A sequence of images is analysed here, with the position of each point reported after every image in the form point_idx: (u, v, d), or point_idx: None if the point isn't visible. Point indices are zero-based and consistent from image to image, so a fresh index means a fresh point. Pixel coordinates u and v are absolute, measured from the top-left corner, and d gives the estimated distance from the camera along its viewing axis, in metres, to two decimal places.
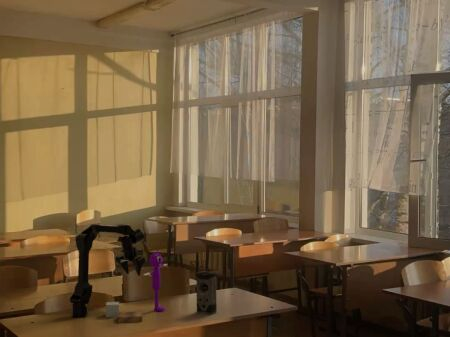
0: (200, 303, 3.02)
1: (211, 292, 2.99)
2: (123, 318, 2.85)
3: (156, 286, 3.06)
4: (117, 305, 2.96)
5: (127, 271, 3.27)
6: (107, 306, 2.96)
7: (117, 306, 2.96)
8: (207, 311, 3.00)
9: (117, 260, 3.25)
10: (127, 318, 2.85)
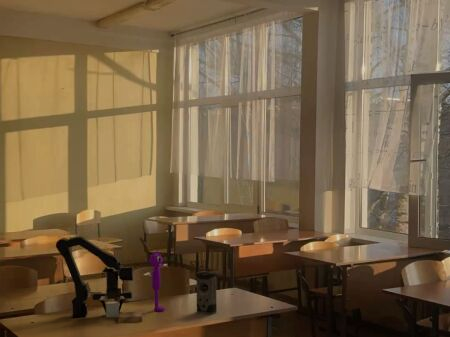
0: (200, 303, 3.02)
1: (211, 292, 2.99)
2: (123, 317, 2.85)
3: (156, 286, 3.06)
4: (117, 305, 2.96)
5: None
6: (107, 306, 2.96)
7: (117, 306, 2.96)
8: (207, 311, 3.00)
9: None
10: (127, 318, 2.85)
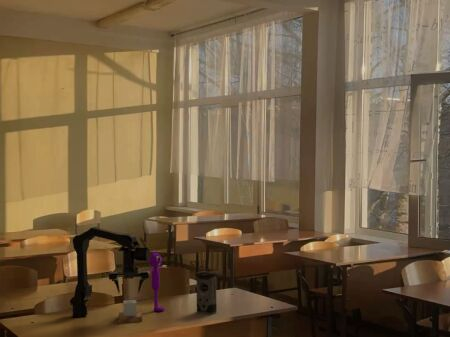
0: (200, 303, 3.02)
1: (211, 292, 2.99)
2: (123, 318, 2.85)
3: (155, 285, 3.06)
4: (135, 303, 2.88)
5: (138, 289, 2.92)
6: (124, 304, 2.87)
7: (135, 304, 2.88)
8: (207, 311, 3.00)
9: None
10: (127, 319, 2.85)
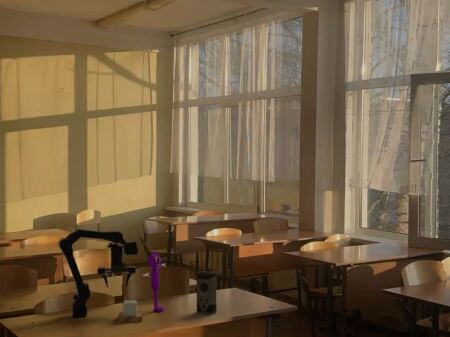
0: (200, 303, 3.02)
1: (211, 292, 2.99)
2: (123, 318, 2.85)
3: (155, 286, 3.06)
4: (134, 303, 2.88)
5: None
6: (124, 304, 2.87)
7: (134, 305, 2.88)
8: (207, 311, 3.00)
9: None
10: (127, 319, 2.85)
